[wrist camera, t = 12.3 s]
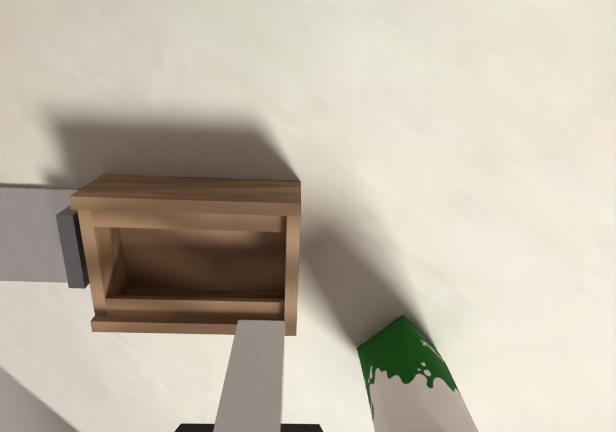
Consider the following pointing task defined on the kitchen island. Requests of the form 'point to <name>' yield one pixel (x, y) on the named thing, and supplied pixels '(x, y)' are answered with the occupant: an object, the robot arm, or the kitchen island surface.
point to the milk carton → (410, 384)
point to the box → (190, 252)
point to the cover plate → (41, 237)
